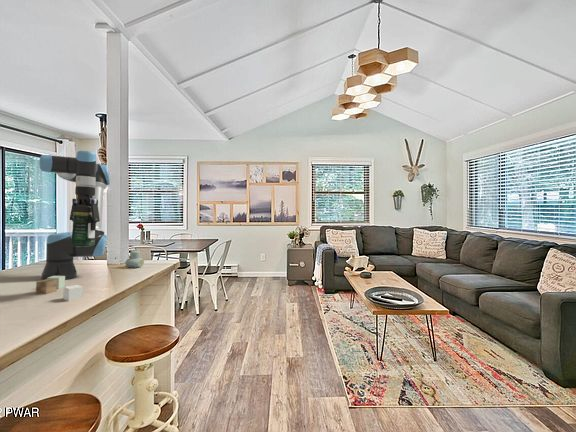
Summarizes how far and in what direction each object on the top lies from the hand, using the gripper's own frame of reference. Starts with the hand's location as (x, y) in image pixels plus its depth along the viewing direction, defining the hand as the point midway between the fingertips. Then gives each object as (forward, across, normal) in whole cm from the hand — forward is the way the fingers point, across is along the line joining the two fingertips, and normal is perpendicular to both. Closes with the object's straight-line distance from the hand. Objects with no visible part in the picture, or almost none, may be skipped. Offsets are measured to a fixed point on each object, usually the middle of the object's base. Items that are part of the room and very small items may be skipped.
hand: (83, 237), depth 147 cm
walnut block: (+24, -10, -9) cm, 28 cm away
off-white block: (+24, +9, -10) cm, 28 cm away
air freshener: (+24, -30, +55) cm, 67 cm away
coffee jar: (+4, 0, 0) cm, 4 cm away
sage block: (+24, -15, -2) cm, 28 cm away
